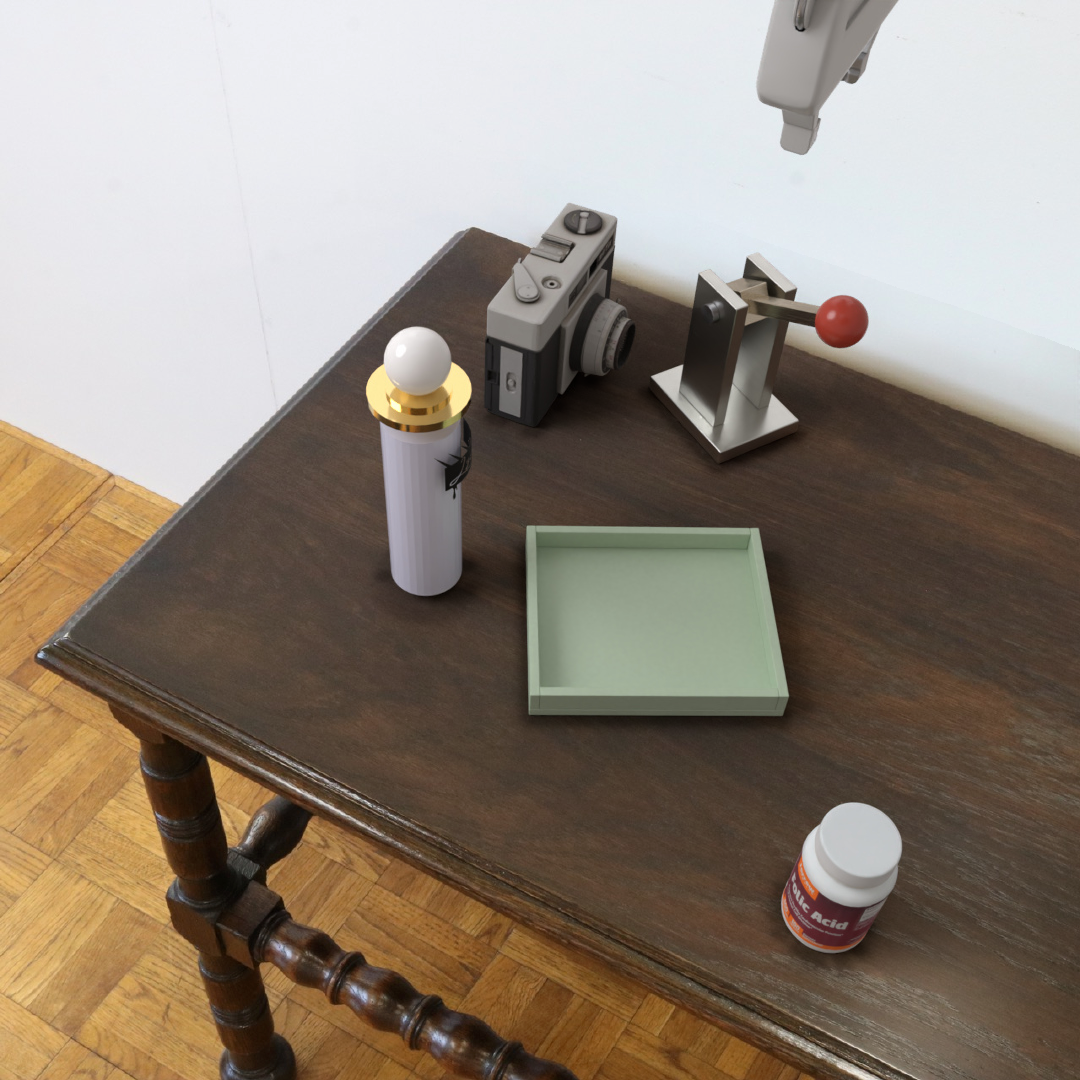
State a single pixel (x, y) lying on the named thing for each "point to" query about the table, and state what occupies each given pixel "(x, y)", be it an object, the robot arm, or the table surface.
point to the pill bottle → (842, 877)
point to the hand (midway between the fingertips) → (822, 110)
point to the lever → (807, 313)
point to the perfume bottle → (422, 457)
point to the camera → (555, 318)
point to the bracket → (730, 368)
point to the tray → (651, 622)
